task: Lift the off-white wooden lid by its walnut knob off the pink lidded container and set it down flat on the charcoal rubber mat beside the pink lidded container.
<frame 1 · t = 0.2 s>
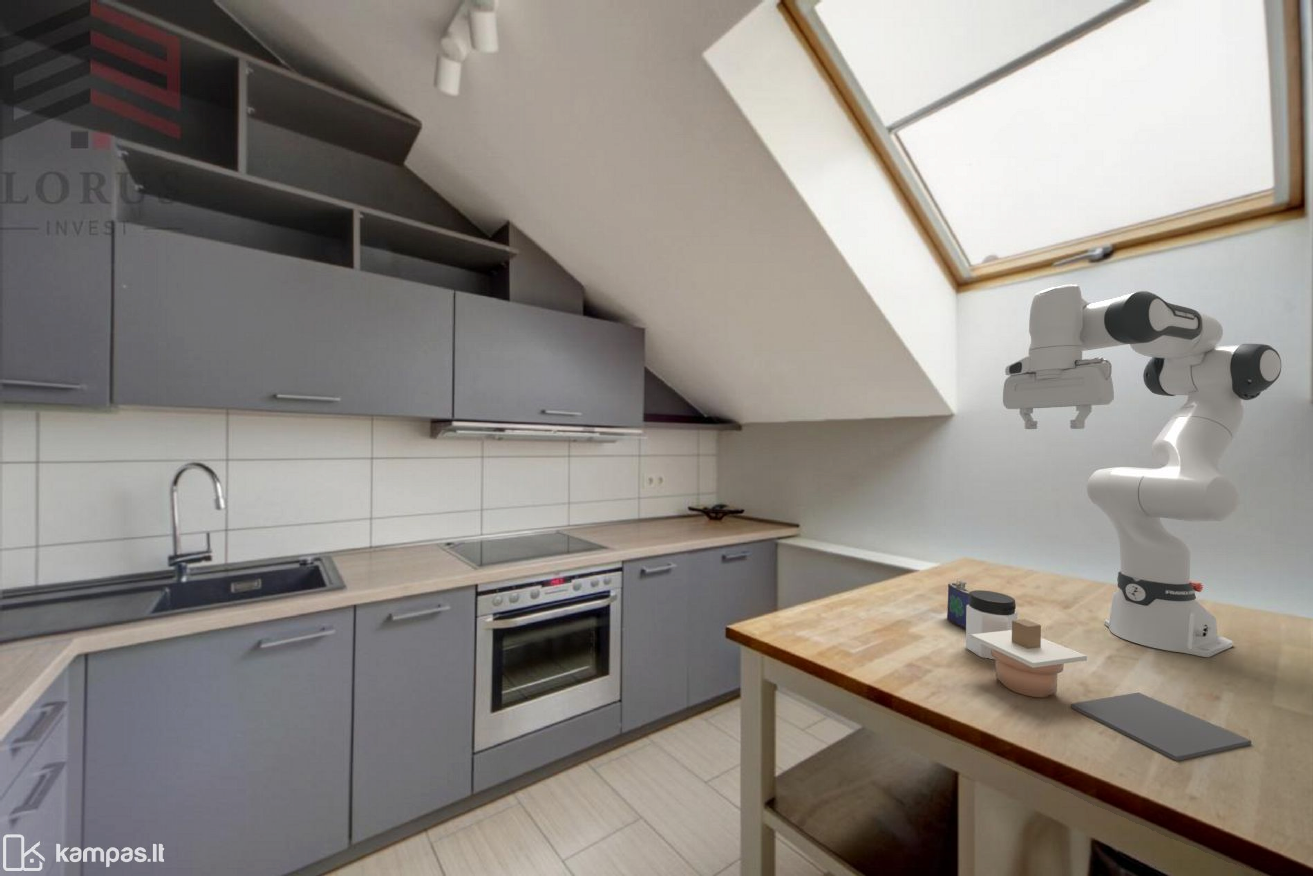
hand: (1053, 429, 103), 48 cm above the table, tool pointing down, fingers open, 8 cm apart
lid: (1025, 649, 89), point 7 cm above the table, touching pink lidded container
pink lidded container: (1025, 687, 89), on the table
mat: (1155, 724, 78), on the table
flask: (960, 625, 119), on the table
jar: (990, 653, 103), on the table
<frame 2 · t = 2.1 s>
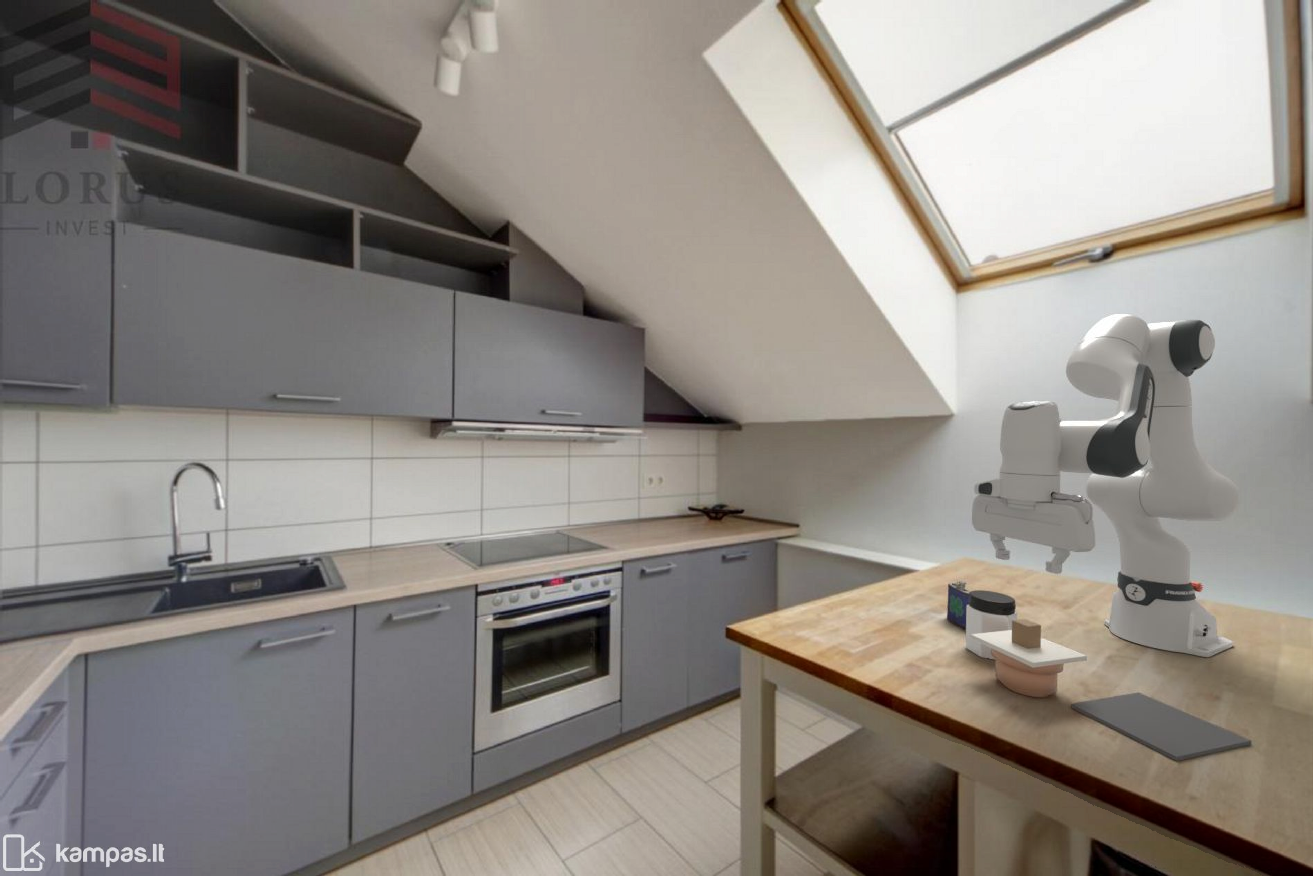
hand: (1026, 565, 89), 22 cm above the table, tool pointing down, fingers open, 8 cm apart
nothing on the table moved.
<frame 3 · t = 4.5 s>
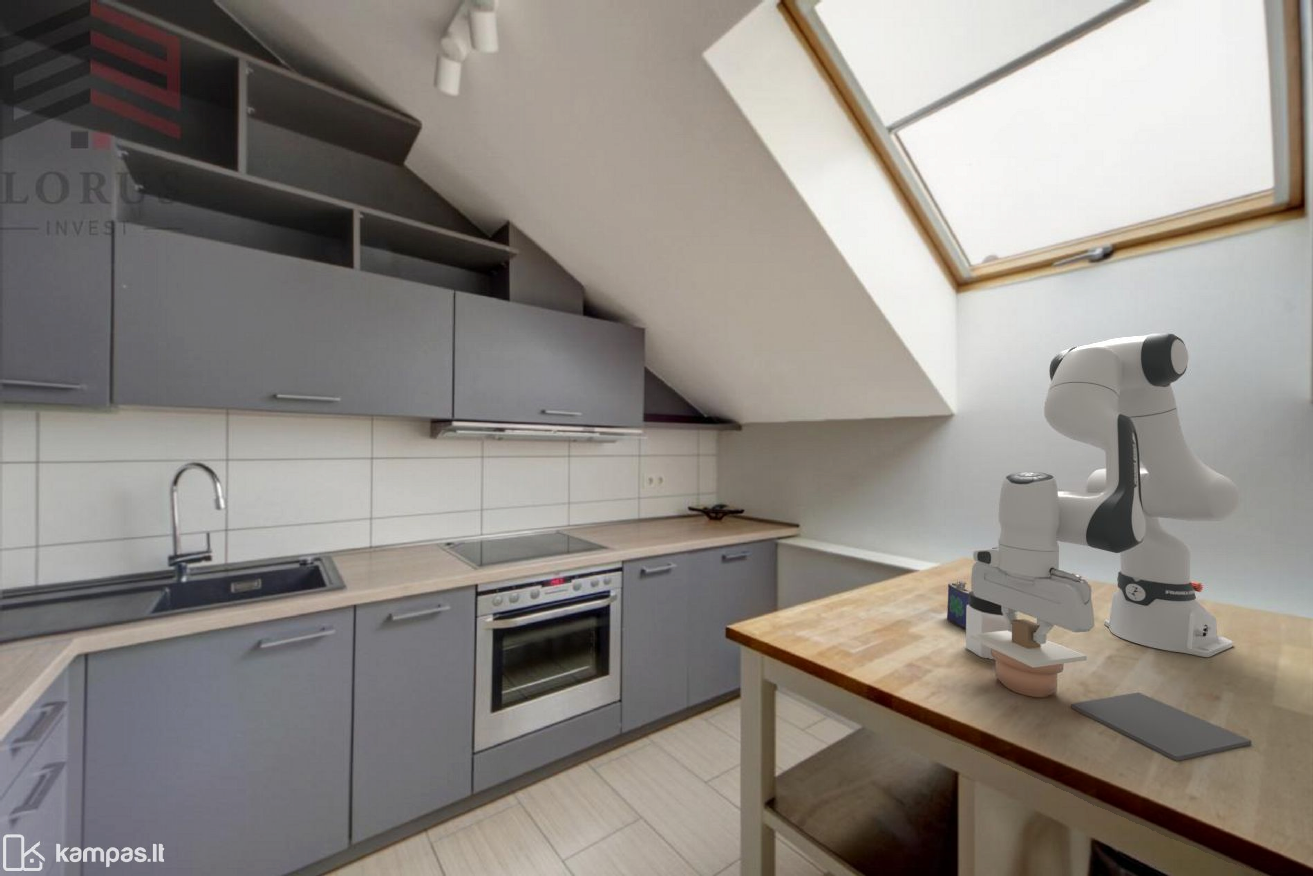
hand: (1026, 637, 89), 9 cm above the table, tool pointing down, fingers closed on lid, 3 cm apart
lid: (1025, 649, 89), point 7 cm above the table, touching pink lidded container, gripper
everything else where it was.
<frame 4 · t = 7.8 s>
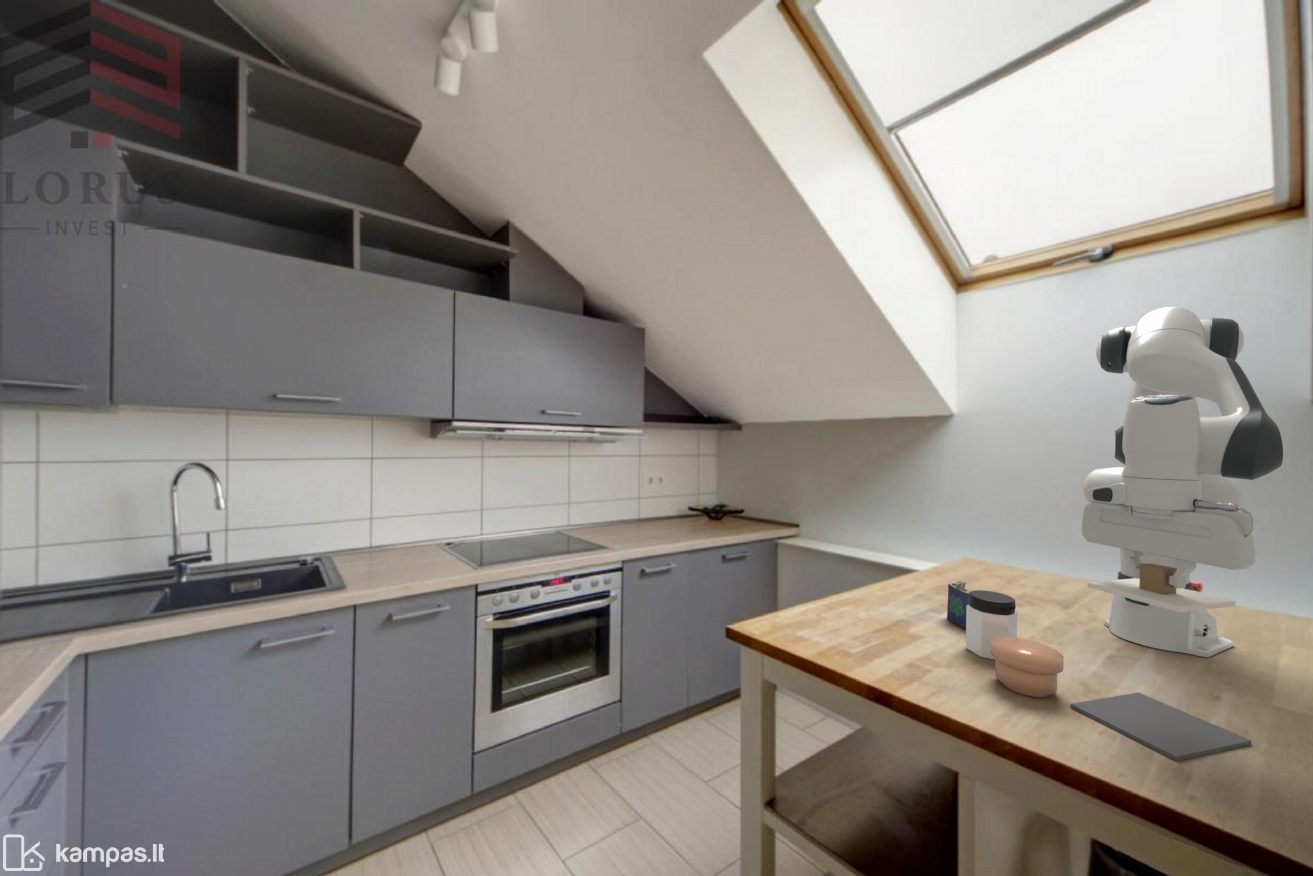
hand: (1157, 583, 78), 23 cm above the table, tool pointing down, fingers closed on lid, 3 cm apart
lid: (1157, 596, 78), point 21 cm above the table, touching gripper
everything else where it was.
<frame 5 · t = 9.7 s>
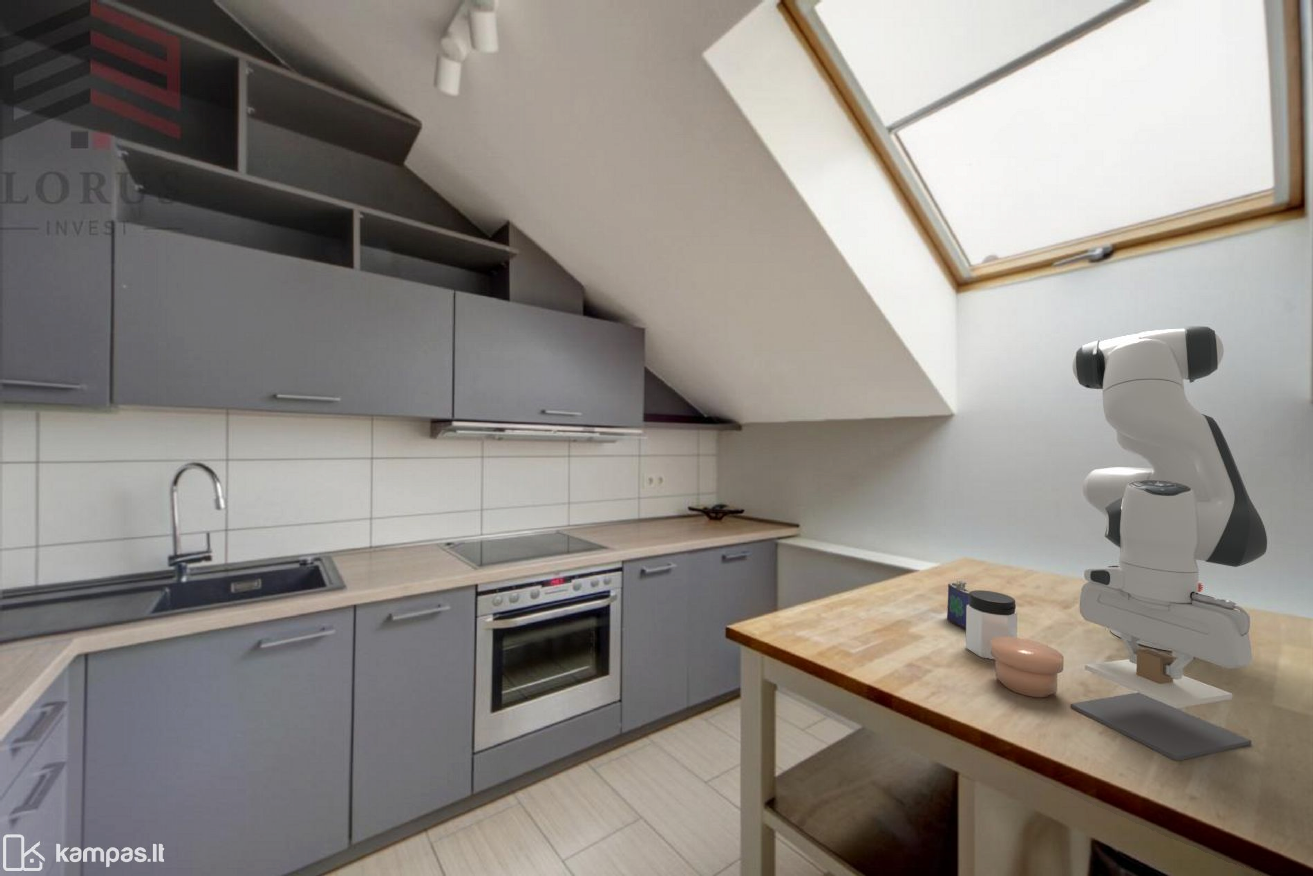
hand: (1154, 670, 78), 9 cm above the table, tool pointing down, fingers closed on lid, 3 cm apart
lid: (1154, 683, 78), point 7 cm above the table, touching gripper
everything else where it was.
when the fingers open (4 cm above the table, at t = 11.2 s): lid drops 1 cm, resting on mat.
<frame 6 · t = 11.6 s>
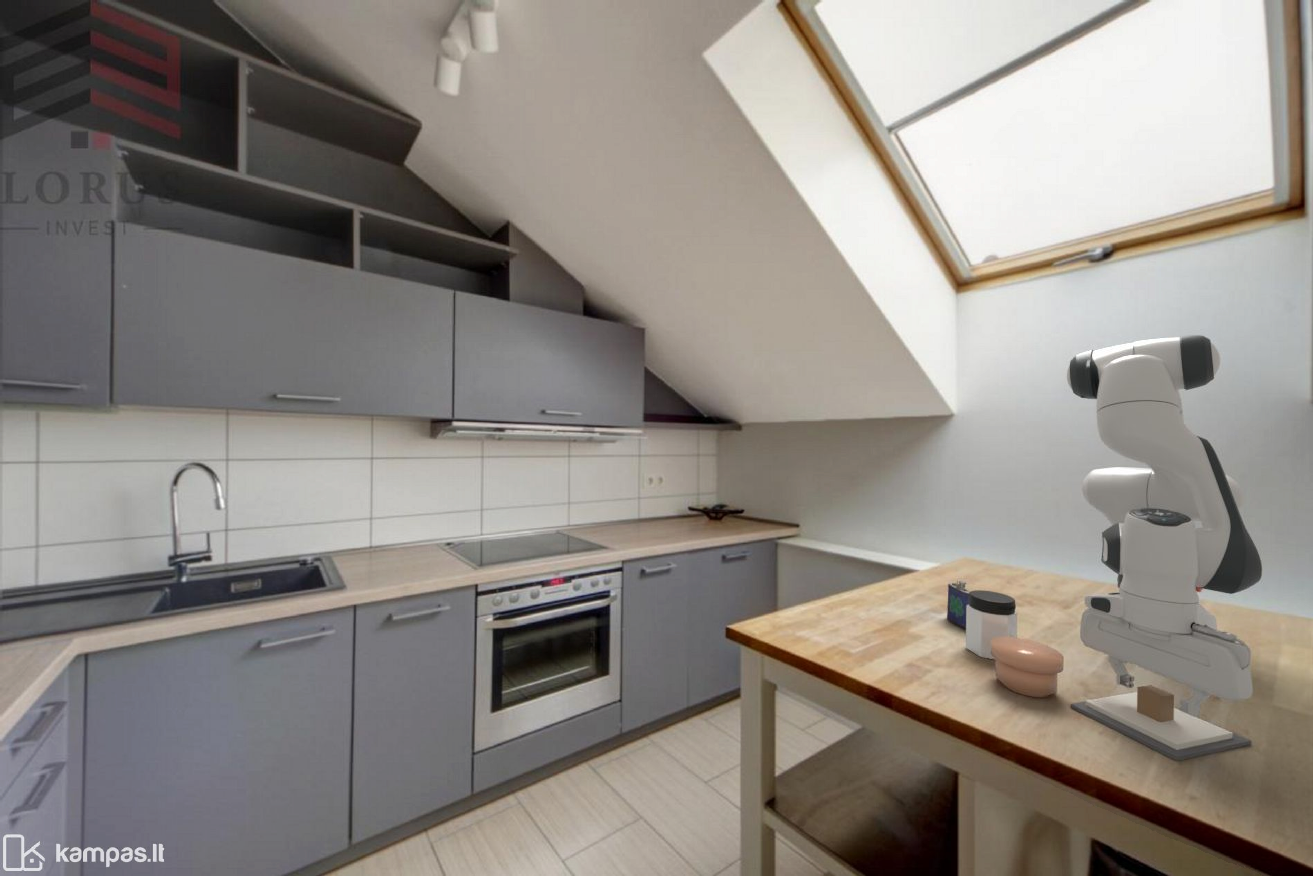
hand: (1155, 699, 78), 4 cm above the table, tool pointing down, fingers open, 7 cm apart
lid: (1154, 720, 78), point 1 cm above the table, touching mat
everything else where it was.
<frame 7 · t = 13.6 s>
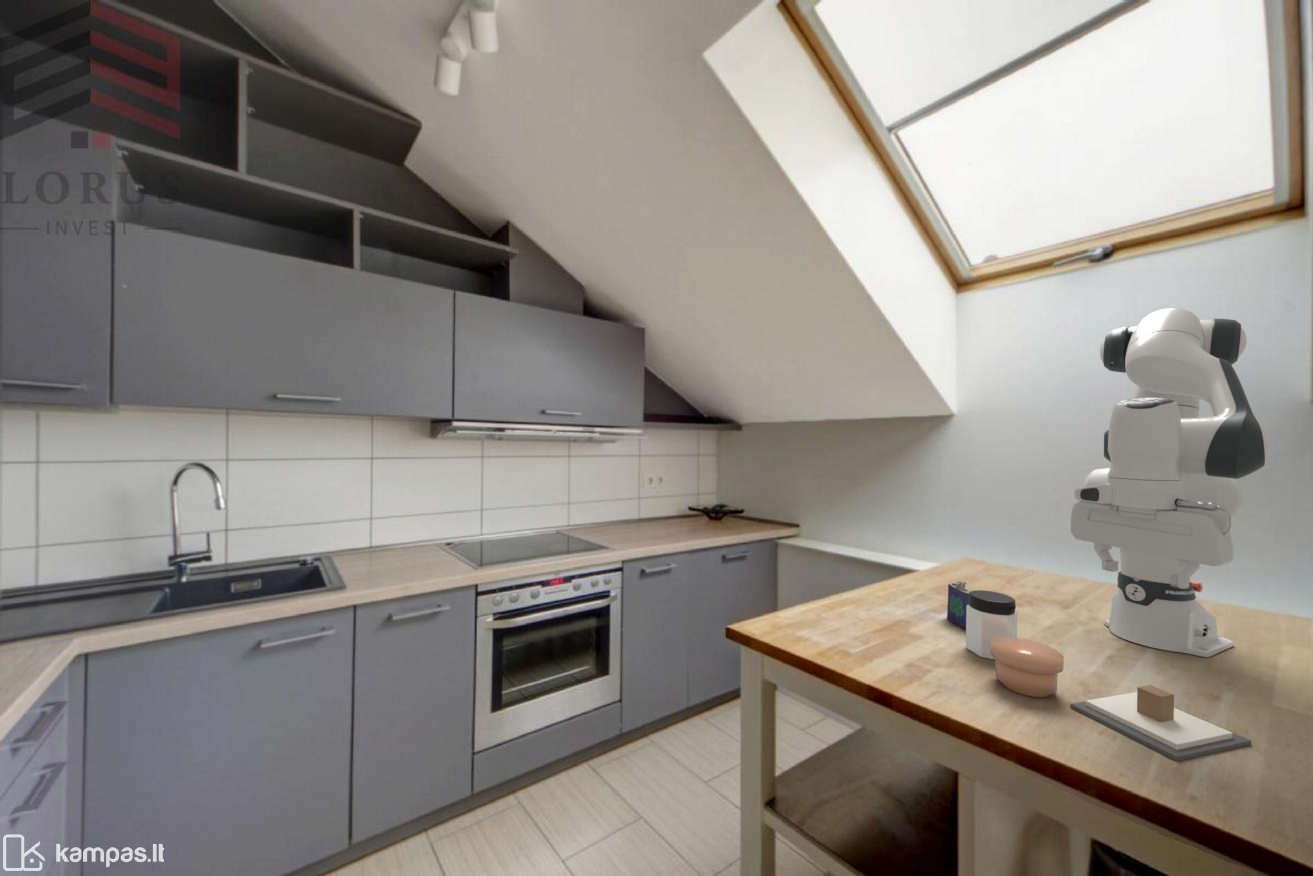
hand: (1142, 578, 81), 22 cm above the table, tool pointing down, fingers open, 8 cm apart
nothing on the table moved.
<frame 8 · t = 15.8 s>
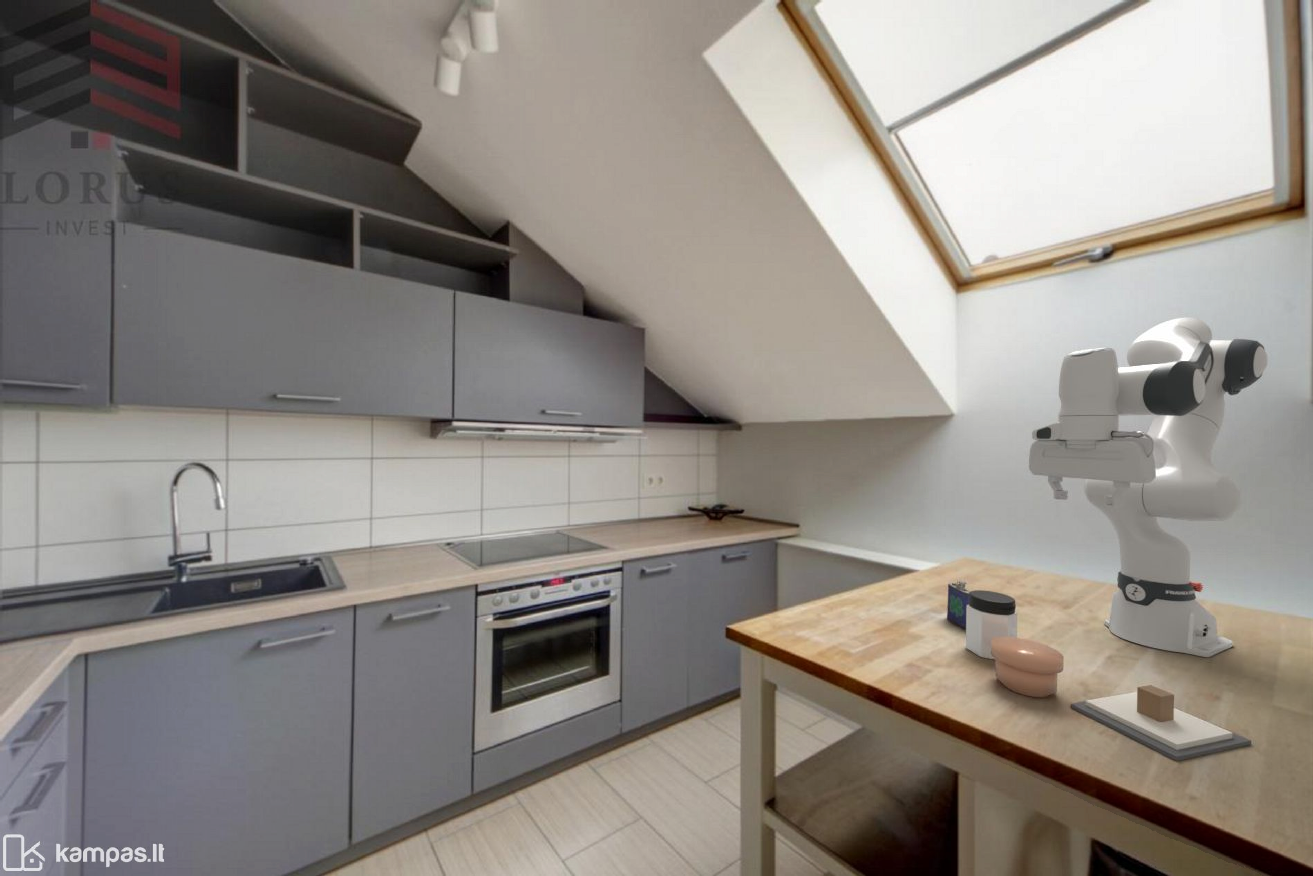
hand: (1086, 502, 95), 33 cm above the table, tool pointing down, fingers open, 8 cm apart
nothing on the table moved.
at the end: lid inside the target area (0.1 cm from its centre), point 0.6 cm above the table; lid tilted 0°; the gripper is holding nothing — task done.
